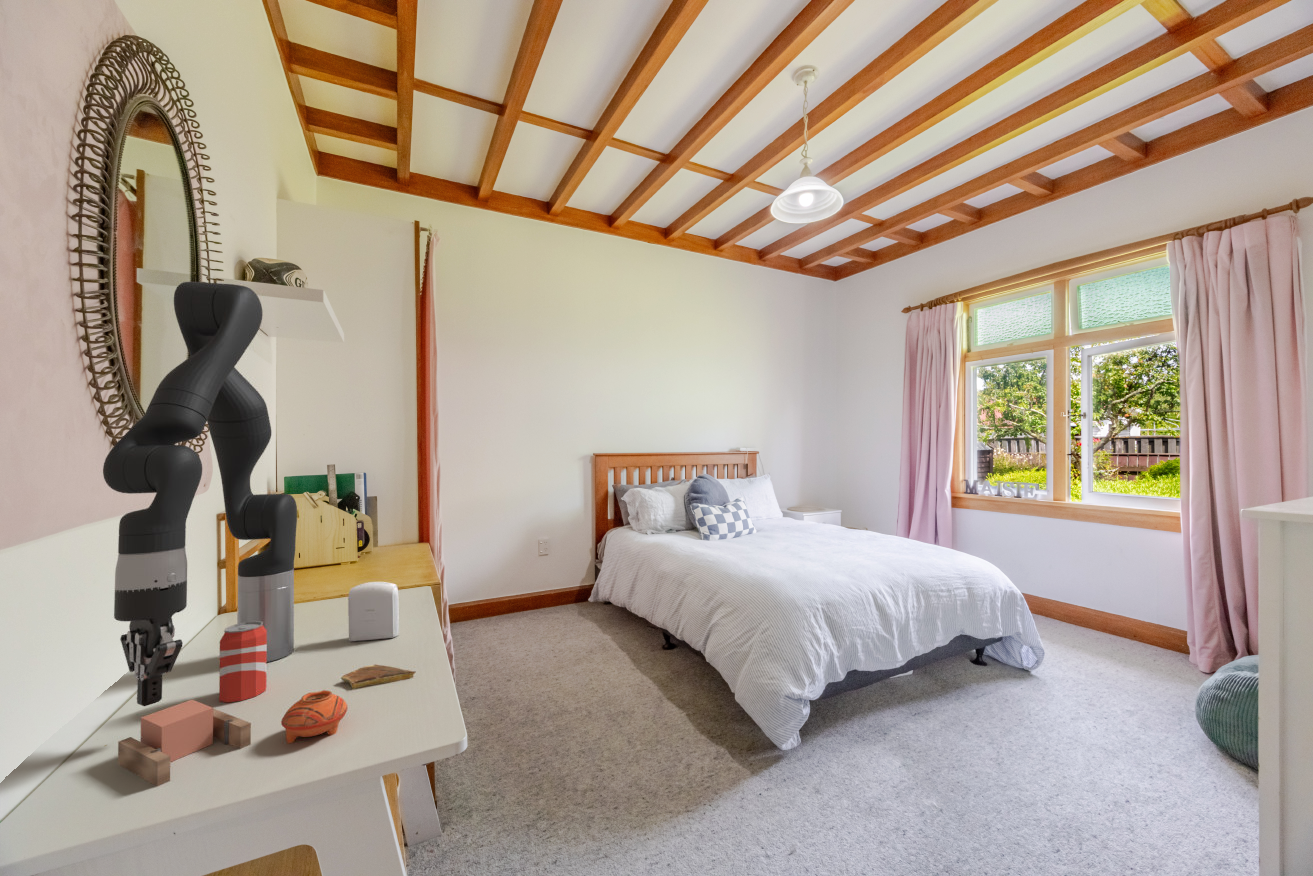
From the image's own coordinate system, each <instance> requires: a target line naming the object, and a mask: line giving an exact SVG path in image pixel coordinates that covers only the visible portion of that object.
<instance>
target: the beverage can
mask: <svg viewBox="0 0 1313 876" xmlns="http://www.w3.org/2000/svg"><path fill="white" fill-rule="evenodd" d="M262 624H263V622H258V621H254V622H244V623H240V624H237V623H236V624H233V625H229V626H227V627H225V628H224V630H223V632H224V633H223V635H222V637H221V638H220V640H219V673H218V674H219V676H218V677H219V678H218V679H219V685H218V686H219V689H218V690H219V691H218V692H219V693H218V695H219V699H218V700H219V702H224V703H235V702H242V701H246V700H248V699H251V698H255V697H257V696H259V695H260V694H262V693H264V692H265V691H266V690H267V677H268V676H267V675H268V674H267V669H268V668H267V667H268V666H267V663H268V662H267V630H266V629H265V628H264V627H263V625H262Z"/></svg>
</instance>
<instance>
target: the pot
mask: <svg viewBox="0 0 1313 876" xmlns="http://www.w3.org/2000/svg"><path fill="white" fill-rule="evenodd" d="M348 708H349V707H348V704H347V702H346V701H345V700H344V698H343V697H341V696H339V695H336V694H334V693H333V692H331V691H330V690H325V689H324V690H320V691H313V692H307V693H306V694H304V695H303V696H301V698H300V699H299V700H297V701H296V702H294V703H293V704H292V705H291V706H290V707H289V709H287V711H286V712H285V713H284V715H283V717H282V718H281V721H280V723H281V726H282V727H283V728H284V730H285V735H286V736H285V737H286V738H285V739H286V742H287V744H293V743H294V742H295V741H296V739H297V738H298V737H302V738H303V737H304V738H306V737H307V738H308V737H315V736H318V735H322V734H324V733H327V734H328V736H332V735H336V733H337V731H338V728H339V723H340V721H342V719H343V718H344V717H345V715H346V713H347V711H348Z"/></svg>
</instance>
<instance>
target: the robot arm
mask: <svg viewBox="0 0 1313 876" xmlns="http://www.w3.org/2000/svg"><path fill="white" fill-rule="evenodd" d="M173 307H174V309H173V310H174V313H175V317H176V320H177V324H178V327H179V329H180V330H179V331H180V333H181V335H182V338H183V341H184V343H185V346H186V348H187V351H188V355H189V357H188V358H187V359H185V360H184V361H183V362H181V363H179V365H177V366H176V367H174V368H173V369H171V370H170V371H169V372H168V373H167V374H166V375H165V376H164V377H163V379H162V380H161V381H160V383H159V385H158V386H157V388H156V390H155V391H154V394H153V396H152V398H151V400H150V401H149V404H148V406H147V408H146V411H145V412H144V415H143V416H142V417H141V418H140V419H139V420H138V421H137V422H136V423H135V424H134V425H133V426H131V427H130V429H129V430H128V431H127V432H126V433H125V434H124V435H123V436H122V437H121V438H120V439H119V440H118V441H117V442H116V444H114V446H113V447H112V448H111V450H110V451H109V452H108V454H107V456H106V457H105V459H104V462H103V466H102V467H103V468H102V474H103V476H102V477H103V480H104V481H105V483H106V484H107V486H108V487H109V488H110V489H112V490H113V491H116V492H117V493H121V494H128V495H129V494H131V495H132V494H155V496H154V498H153V500H152V502H151V503H150V505H149V506H148V507H147V508H142V509H139V510H134V511H130V512H128V513H125V514H124V515H123V516H122V517H120V520H119V523H118V524H119V525H118V541H117V542H118V543H117V544H118V549H117V553H118V554H117V561H116V564H115V565H116V566H115V572H114V603H113V604H114V607H113V608H114V609H113V618H114V619H115V620H116V621H118V622H130V623H129V627H128V628H129V630H128V631H127V633H126V634H122V635H120V638H119V640H120V643H121V646H122V650H123V653H124V656H125V660H126V664H127V667H128V670H129V673H132V672H133V673H134V674H133V676H134V678H135V679H137V686H136V688H137V689H136V691H137V692H136V696H137V697H136V704H137V705H140V706H142V707H147V706H150V705H153V704H156V703H159V702H161V700H162V698H163V676H164V675H165V674H166V673H167V674H168V673H170V672H172V671H173V668H174V666H175V664H176V661H177V658H178V657H179V654H180V652H181V650H182V648H183V643H184V642H183V641H182V639H177V640H174V637H175V629H176V628H175V625H174V624H173V618H172V617H173V616H174V615H175V614H176V613H180V612H183V611H184V610H185V609H186V608H187V606H188V605H187V603H188V602H187V601H188V599H187V597H188V594H187V593H188V558H187V553H186V535H187V533H186V532H187V531H186V530H187V527H186V526H187V525H186V524H187V523H186V522H187V518H188V515H189V514H190V510H191V507H192V504H193V501H194V499H195V495H196V493H197V491H198V487H199V485H200V484H201V483H200V482H201V479H202V476H203V463H202V460H201V458H200V456H199V454H198V453H197V452H196V451H195V450H194V449H193V448H191V447H189V446H187V445H182V444H180V443H183V442H186V441H191V440H194V439H196V438H198V437H200V435H202V433H203V431H204V428H205V426H206V423H207V425H208V426H207V427H208V430H209V434H210V438H211V441H212V443H213V448H214V452H215V456H216V460H217V463H218V468H219V473H220V479H221V486H222V493H223V503H224V511H225V517H226V523H227V526H228V527H227V528H228V530H229V532H230V533H231V535H232V537H233V538H235V539H237V540H242V541H252V540H270V542H269V546H268V547H267V548H266V549H265V550H263V551H262V552H259V553H257V554H254V555H251V556H248V557H246V558H244V559H241V560H240V561H239V563H238V565H237V613H236V614H237V617H236V620H237V623H236V624H240V623H244V622H254V621H258V622H263V624H262V625H263V627H264V628H265V629H266V630H267V663H269V662H273V661H276V660H279V659H282V658H286V657H287V656H289V655H290V654H291V655H292V653H293V652H294V650H295V647H294V645H295V642H294V641H295V639H294V638H295V582H294V581H295V579H294V577H295V575H294V574H295V566H294V565H295V557H296V540H297V539H296V537H297V526H298V525H297V524H298V506H297V502H296V499H295V497H294V496H293V495H291V494H289V493H267V494H266V493H265V494H264V493H263V494H254V493H253V492H252V488H251V477H252V473H253V471H254V468H255V467H256V465H257V463H258V462H259V460H260V458H261V456H263V454H264V452H265V450H266V449H267V447H268V446H269V444H270V441H271V437H272V426H271V421H270V416H269V412H268V407H267V404H266V401H265V399H264V398H263V396H262V395H261V394H260V392H259V391H258V390H257V388H255V387H254V386H253V385H252V384H251V383H250V381H249V380H247V378H246V377H244V375H242V374H241V373H240V372H239V371H238V369H237V368H236V367H235V366H236V365H238V363H239V361H240V360H241V358H242V357H243V356H244V353H245V352H246V350H247V349H248V348H249V346H250V345H251V343H252V341H253V340H254V339H255V337H256V335H257V334H258V332H259V330H260V327H261V324H262V321H263V308H262V307H263V306H262V303H261V300H260V298H259V296H258V295H257V293H256V292H255V291H254V290H253V289H252V288H250V287H248V286H245V285H239V284H232V283H216V282H215V283H214V282H202V281H184V282H181V283H180V284H178V285H177V287H176V288H175V291H174V295H173ZM178 443H179V444H178Z"/></svg>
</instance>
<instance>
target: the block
mask: <svg viewBox="0 0 1313 876" xmlns="http://www.w3.org/2000/svg"><path fill="white" fill-rule="evenodd" d="M213 709H214V707H213V706H209V705H207V704H205V703H202V702H199V701H196V700H194V699H189V700H187V701H184V702H180V703H178V704H176V705H171V706H169V707H167V708H164V709H162V710H159V711H156V712H153V713H150V714H147V715H144V716H141V717H140V742H142V743H144V744H146V745H148V746H150V747H152V748H154V749H159V748H160V749H161V752H162V753H164V754H166V755H168V756H170V763H172V762H174V761H176V760H179V759H181V758H183V757H185V756H189V755H190V754H192V753H193V754H194V753H195V752H198V751H200V750H202V749H204V748H207V747H210V746H212V745H213V744H214V737H213Z"/></svg>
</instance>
